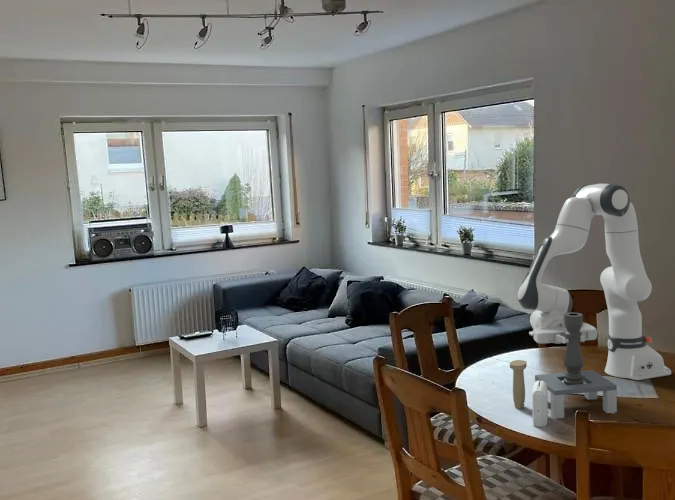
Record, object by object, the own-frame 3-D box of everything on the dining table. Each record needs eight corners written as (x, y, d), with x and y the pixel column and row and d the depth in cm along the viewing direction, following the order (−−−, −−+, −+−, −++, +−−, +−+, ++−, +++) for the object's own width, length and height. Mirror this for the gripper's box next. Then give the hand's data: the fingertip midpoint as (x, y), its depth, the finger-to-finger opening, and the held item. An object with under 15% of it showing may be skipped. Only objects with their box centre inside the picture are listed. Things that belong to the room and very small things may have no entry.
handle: (530, 405, 220) (529, 361, 218) (521, 411, 215) (520, 366, 213) (516, 402, 223) (515, 359, 221) (508, 408, 218) (506, 364, 216)
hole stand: (593, 395, 225) (592, 370, 224) (616, 413, 209) (616, 385, 208) (535, 401, 224) (534, 375, 223) (554, 418, 208) (554, 390, 207)
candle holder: (586, 392, 213) (586, 316, 210) (567, 393, 213) (567, 317, 210) (579, 386, 219) (579, 311, 216) (560, 387, 219) (560, 312, 216)
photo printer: (546, 428, 201) (546, 388, 200) (532, 427, 203) (531, 387, 201) (548, 415, 211) (547, 377, 209) (534, 414, 212) (533, 377, 211)
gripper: (526, 322, 225) (542, 332, 212) (585, 318, 227) (605, 328, 213) (527, 341, 226) (543, 352, 212) (585, 336, 228) (605, 347, 214)
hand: (574, 340), depth 213 cm, fingers closed on candle holder, 4 cm apart
